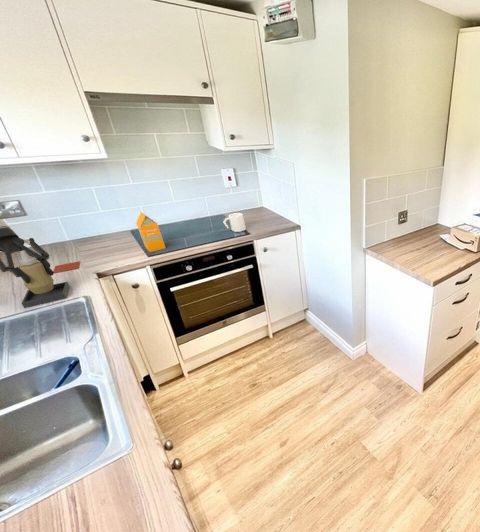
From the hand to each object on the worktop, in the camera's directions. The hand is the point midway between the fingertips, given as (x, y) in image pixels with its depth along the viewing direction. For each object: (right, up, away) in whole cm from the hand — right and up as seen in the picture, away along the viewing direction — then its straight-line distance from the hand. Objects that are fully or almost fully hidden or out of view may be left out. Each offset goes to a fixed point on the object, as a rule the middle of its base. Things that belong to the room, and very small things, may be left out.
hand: (40, 277), depth 128 cm
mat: (-19, +4, +29) cm, 35 cm away
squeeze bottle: (-3, -6, +4) cm, 8 cm away
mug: (+38, +28, +78) cm, 91 cm away
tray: (-3, -8, +6) cm, 11 cm away
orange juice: (+7, +15, +51) cm, 54 cm away
